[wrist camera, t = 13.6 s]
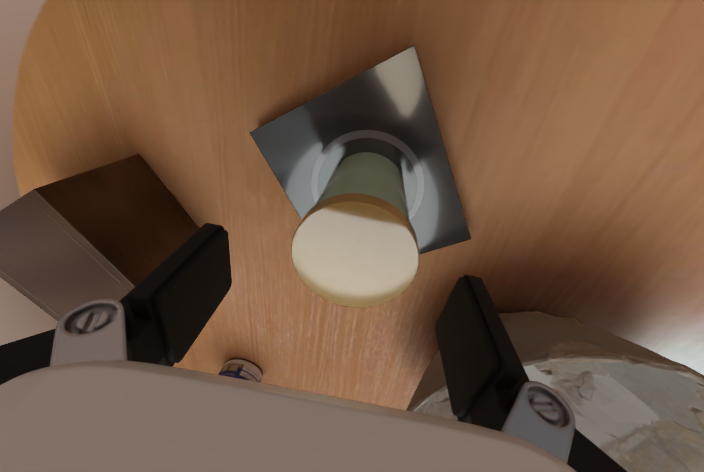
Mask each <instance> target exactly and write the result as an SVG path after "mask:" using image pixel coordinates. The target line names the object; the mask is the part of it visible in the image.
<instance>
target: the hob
mask: <svg viewBox="0 0 704 472" xmlns="http://www.w3.org/2000/svg"><path fill="white" fill-rule="evenodd" d="M250 134H251V136H252V138H253V139H254V141H255V143H256V144H257V146H258V148H259V149H260V151H261V153H262V154H263V156H264V158H265V159H266V161H267V163H268V164H269V166H270V168H271V169H272V171H273V173H274V174H275V176H276V178H277V179H278V181H279V183H280V184H281V186H282V188H283V189H284V191H285V193H286V194H287V196H288V198H289V200H290V201H291V203H292V205H293V206H294V208H295V210H296V211H297V213H298V215H299V216H300V218H301V220H302V219H303V217H304V216H305V215H306V213H307V212H308V211H309V210H310V209H311V208H312V207H313V206H315V204H316V202H317V200H318V198H319V196H320V195H321V193H322V191H323V189H324V187H325V185H326V184H327V182H328V180H329V178H330V176H331V174H332V172H333V171H334V169H335V168H336V166H337V165H338V164H339V163H340V162H341V161H342V160H344V159H345V158H347V157H348V156H350V155H353V154H356V153H362V152H371V153H376V154H379V155H382V156H384V157H386V158H388V159H389V160H391V161H392V162H393V163H394V164H395V165H396V166H397V167H398V169H399V171H400V172H401V174H402V177H403V180H404V185H405V192H406V199H407V206H408V212H409V219H410V223H411V225H412V227H413V229H414V231H415V234H416V237H417V243H418V248H419V254H422V253H425V252H429V251H432V250H436V249H439V248H442V247H446V246H449V245H452V244H456V243H459V242H463V241H466V240H469V239H471V237H470V233H469V230H468V226H467V223H466V219H465V216H464V213H463V209H462V206H461V202H460V199H459V195H458V192H457V189H456V185H455V182H454V178H453V175H452V172H451V168H450V165H449V161H448V158H447V154H446V151H445V148H444V144H443V141H442V137H441V134H440V130H439V127H438V124H437V120H436V117H435V113H434V110H433V106H432V103H431V100H430V96H429V93H428V89H427V86H426V82H425V79H424V76H423V72H422V69H421V65H420V62H419V59H418V55H417V52H416V48H415V45H413V46H411V47H409V48H407V49H405V50H403V51H401V52H399V53H398V54H396V55H394V56H392V57H390V58H388V59H386V60H385V61H383V62H381V63H379V64H377V65H375V66H373V67H371V68H370V69H368V70H366V71H364V72H362V73H360V74H358V75H356V76H355V77H353V78H351V79H349V80H347V81H345V82H343V83H341V84H340V85H338V86H336V87H334V88H332V89H330V90H328V91H326V92H325V93H323V94H321V95H319V96H317V97H315V98H313V99H312V100H310V101H308V102H306V103H304V104H302V105H300V106H298V107H297V108H295V109H293V110H291V111H289V112H287V113H285V114H283V115H282V116H280V117H278V118H276V119H274V120H272V121H270V122H268V123H267V124H265V125H263V126H261V127H259V128H257V129H255V130H253V131H252V132H250Z"/></svg>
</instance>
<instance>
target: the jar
mask: <svg viewBox="0 0 704 472" xmlns="http://www.w3.org/2000/svg"><path fill="white" fill-rule="evenodd" d="M419 256H420V255H419V248H418V243H417V237H416V234H415V231H414V229H413V227H412V225H411V223H410V219H409V212H408V206H407V199H406V192H405V185H404V180H403V177H402V174H401V172H400V171H399V169H398V167H397V166H396V165H395V164H394V163H393V162H392V161H391V160H389V159H388V158H386V157H384V156H382V155H379V154H376V153H371V152H362V153H356V154H353V155H350V156H348V157H347V158H345V159H344V160H342V161H341V162H340V163H339V164H338V165H337V166H336V168H335V169H334V171H333V172H332V174H331V176H330V178H329V180H328V182H327V184H326V185H325V187H324V189H323V191H322V193H321V195H320V196H319V198H318V200H317V202H316V204H315V206H313V207H312V208H311V209H310V210H309V211H308V212H307V213H306V215H305V216H304V217H303V219H302V221H301V223H300V224H299V226H298V228H297V230H296V231H295V234H294V236H293V239H292V244H291V257H292V262H293V265H294V268H295V270H296V272H297V274H298V276H299V278H300V279H301V280H302V282H303V283H304V284H305V285H306V286H307V287H308V288H309V289H310V290H311V291H313V292H314V293H315V294H317V295H318V296H320V297H321V298H323V299H325V300H327V301H330V302H332V303H335V304H338V305H342V306H347V307H355V308H364V307H373V306H378V305H381V304H384V303H387V302H389V301H391V300H393V299H395V298H397V297H398V296H399V295H401V294H402V293H403V292H404V291H405V290H406V289H407V288H408V287H409V286H410V285H411V283H412V282H413V280H414V278H415V276H416V274H417V271H418V267H419Z"/></svg>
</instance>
